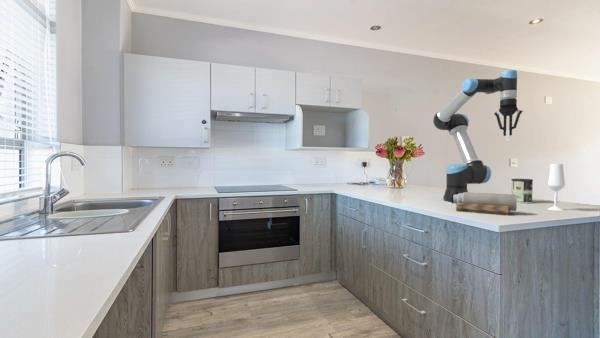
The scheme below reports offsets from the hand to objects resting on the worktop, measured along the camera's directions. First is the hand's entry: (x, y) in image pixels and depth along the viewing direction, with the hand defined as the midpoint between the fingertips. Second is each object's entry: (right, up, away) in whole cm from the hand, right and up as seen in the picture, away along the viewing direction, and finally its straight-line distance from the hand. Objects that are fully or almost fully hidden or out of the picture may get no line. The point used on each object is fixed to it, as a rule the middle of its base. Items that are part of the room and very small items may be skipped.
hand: (507, 141), depth 159 cm
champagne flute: (+18, -37, -10) cm, 42 cm away
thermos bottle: (-10, -32, -20) cm, 39 cm away
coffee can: (+19, -36, +15) cm, 43 cm away
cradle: (-21, -37, -10) cm, 44 cm away
